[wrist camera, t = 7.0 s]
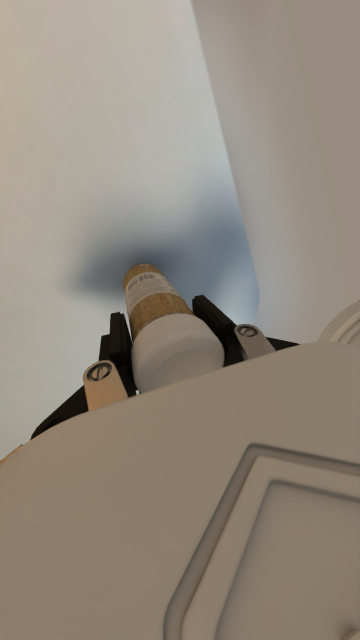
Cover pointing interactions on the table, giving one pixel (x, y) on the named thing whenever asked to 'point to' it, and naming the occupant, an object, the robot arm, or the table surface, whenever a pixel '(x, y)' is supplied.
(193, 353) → the sprinkles bottle
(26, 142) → the table surface
